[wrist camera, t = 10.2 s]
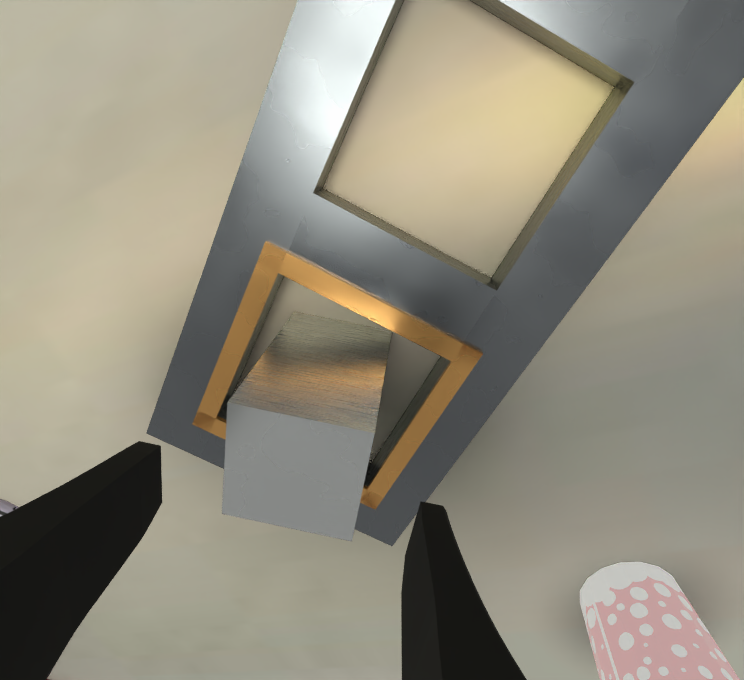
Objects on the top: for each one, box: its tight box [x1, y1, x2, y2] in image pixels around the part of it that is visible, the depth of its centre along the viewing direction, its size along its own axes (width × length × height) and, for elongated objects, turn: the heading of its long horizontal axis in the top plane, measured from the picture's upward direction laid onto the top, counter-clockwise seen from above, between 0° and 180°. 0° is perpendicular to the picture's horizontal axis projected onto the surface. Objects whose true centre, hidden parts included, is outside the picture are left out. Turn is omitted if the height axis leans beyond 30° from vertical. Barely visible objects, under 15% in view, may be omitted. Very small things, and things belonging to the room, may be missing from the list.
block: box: [222, 312, 392, 541], centre depth 16 cm, size 4×4×7 cm
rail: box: [147, 0, 744, 546], centre depth 15 cm, size 12×32×2 cm, turn 153°
